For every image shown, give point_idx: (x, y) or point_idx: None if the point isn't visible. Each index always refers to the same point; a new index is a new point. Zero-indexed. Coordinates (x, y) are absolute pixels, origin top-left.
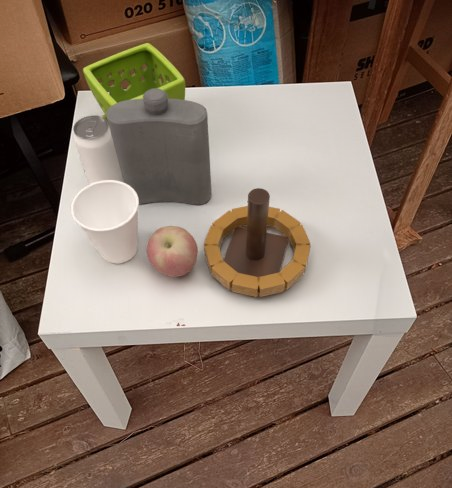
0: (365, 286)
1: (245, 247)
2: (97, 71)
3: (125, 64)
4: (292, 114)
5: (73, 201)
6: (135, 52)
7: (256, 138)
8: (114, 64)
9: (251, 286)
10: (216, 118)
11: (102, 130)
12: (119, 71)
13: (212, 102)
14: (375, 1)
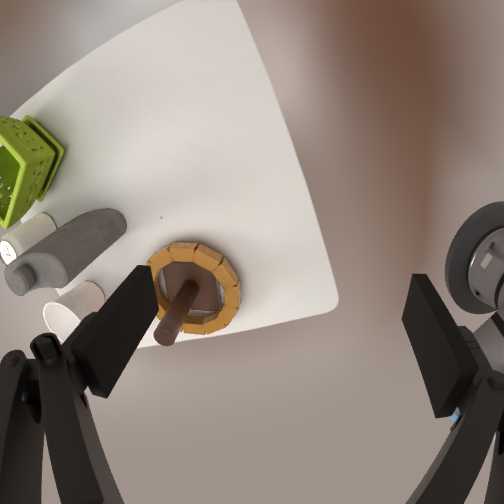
0: (301, 291)
1: (179, 283)
2: None
3: None
4: (166, 57)
5: (47, 325)
6: None
7: (137, 117)
8: None
9: (199, 333)
10: (87, 104)
11: (14, 254)
12: None
13: (76, 81)
14: (152, 319)
